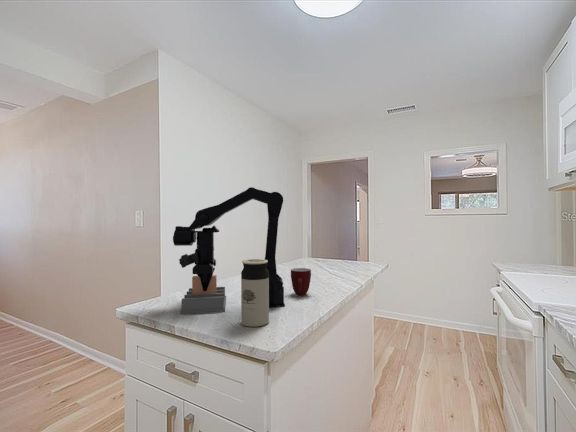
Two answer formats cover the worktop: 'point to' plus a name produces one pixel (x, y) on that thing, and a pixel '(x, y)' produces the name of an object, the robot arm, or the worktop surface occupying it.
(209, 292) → the tile
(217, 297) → the coaster holder
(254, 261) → the travel mug
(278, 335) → the worktop surface
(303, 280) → the mug
